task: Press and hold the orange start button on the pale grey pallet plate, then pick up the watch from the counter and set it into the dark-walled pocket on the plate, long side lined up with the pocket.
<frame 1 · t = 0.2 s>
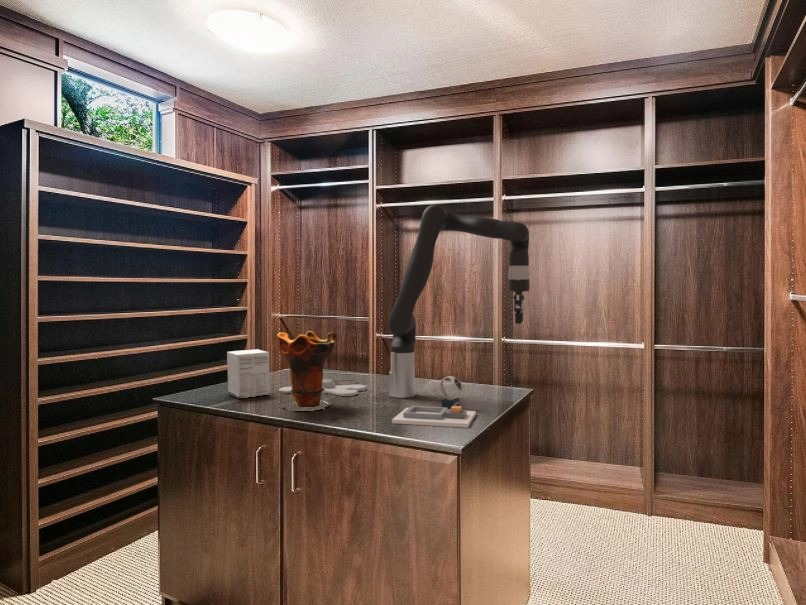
hand: (519, 322, 205), 29 cm above the countertop, tool pointing down, fingers open, 8 cm apart
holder: (323, 392, 231), on the countertop
supplement box: (248, 395, 224), on the countertop
decorative vase: (307, 407, 202), on the countertop
start button: (456, 410, 179), point 3 cm above the countertop, slide at 0.0 cm
pallet: (435, 418, 181), on the countertop
watch: (450, 408, 197), on the countertop
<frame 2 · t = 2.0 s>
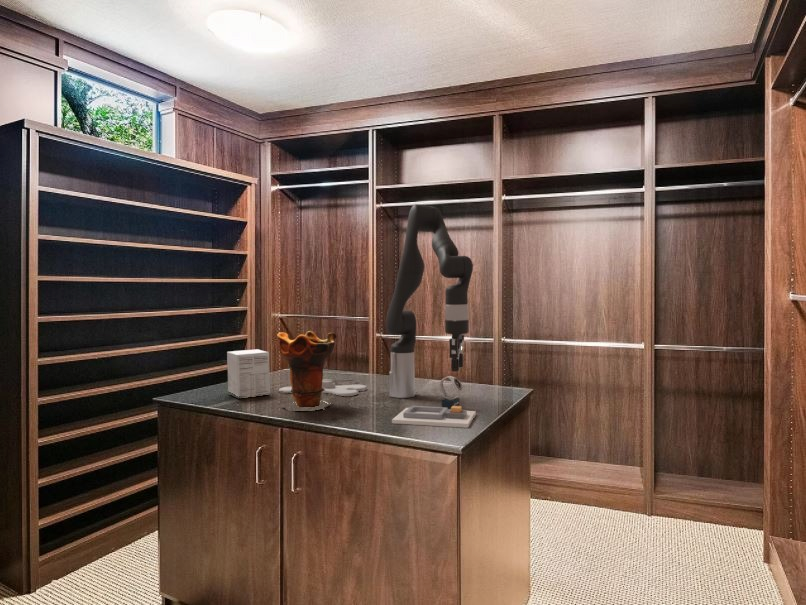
hand: (457, 369, 179), 16 cm above the countertop, tool pointing down, fingers open, 8 cm apart
nothing on the countertop moved.
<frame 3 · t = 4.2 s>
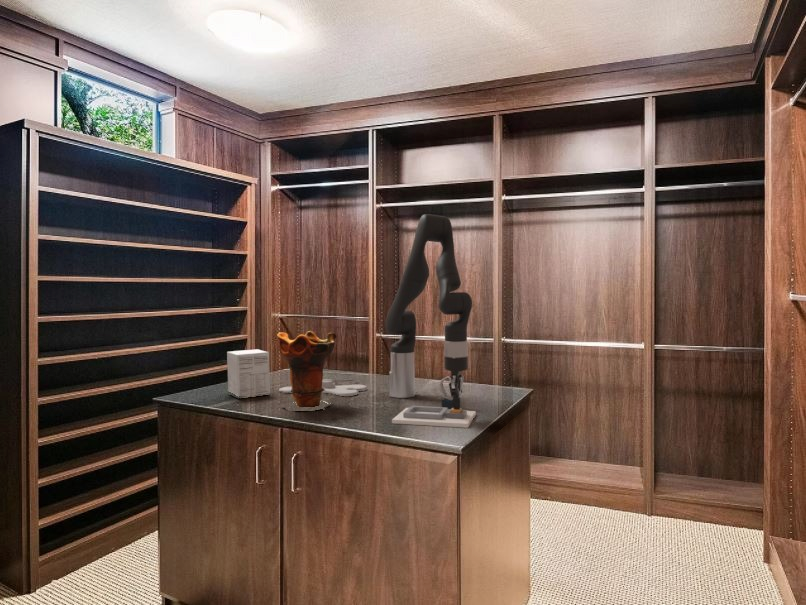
hand: (456, 408, 179), 4 cm above the countertop, tool pointing down, fingers closed
start button: (456, 411, 179), point 3 cm above the countertop, slide at 0.5 cm, touching gripper
everything else where it was.
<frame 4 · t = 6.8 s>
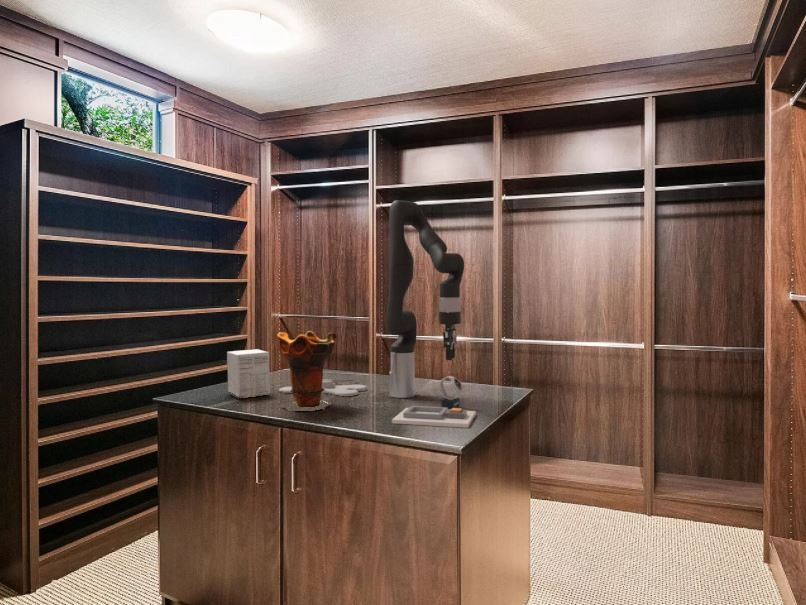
hand: (450, 358, 197), 17 cm above the countertop, tool pointing down, fingers open, 4 cm apart
start button: (456, 412, 179), point 3 cm above the countertop, slide at 0.7 cm
everything else where it was.
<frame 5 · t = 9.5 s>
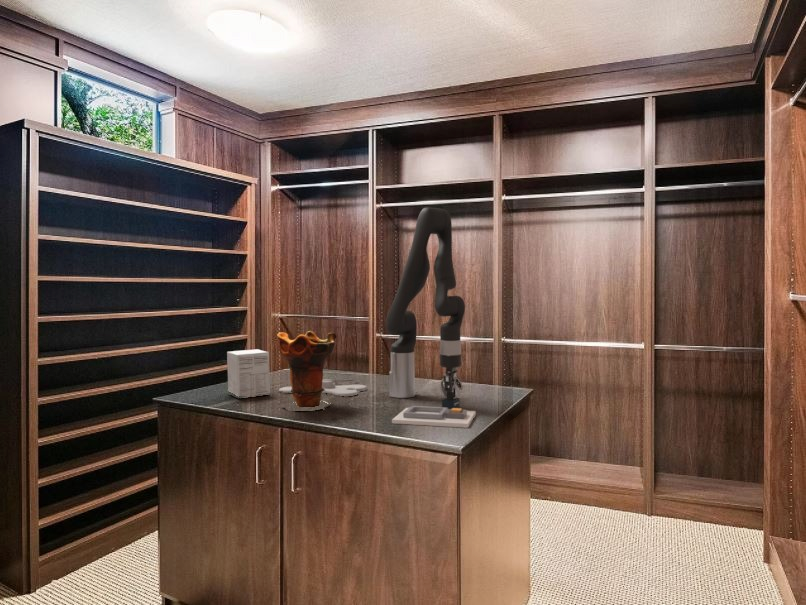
hand: (451, 401, 197), 2 cm above the countertop, tool pointing down, fingers closed on watch, 3 cm apart
watch: (451, 408, 197), on the countertop, touching gripper
everything else where it was.
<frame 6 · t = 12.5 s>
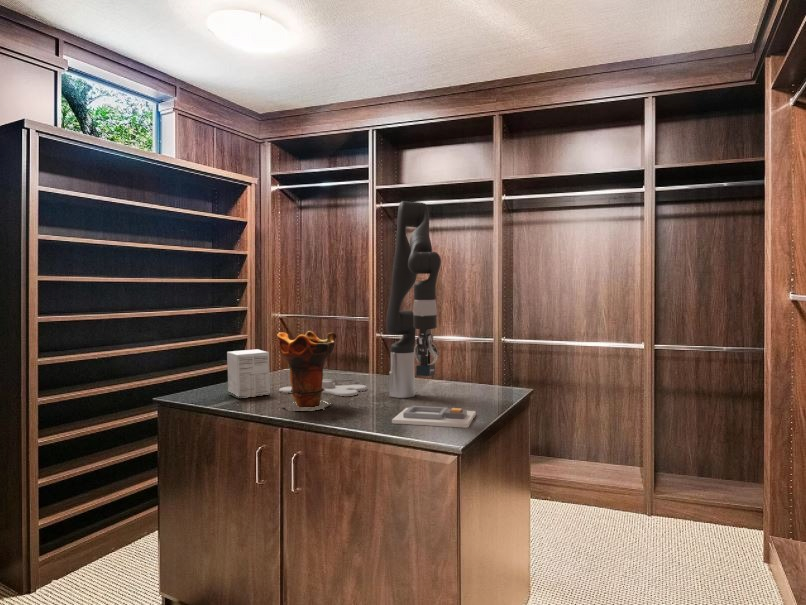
hand: (425, 366, 182), 17 cm above the countertop, tool pointing down, fingers closed on watch, 3 cm apart
watch: (425, 375, 181), point 14 cm above the countertop, touching gripper
everything else where it was.
when the fingers open (5 cm above the countertop, at t = 15.1 s): watch stays where it is, resting on pallet.
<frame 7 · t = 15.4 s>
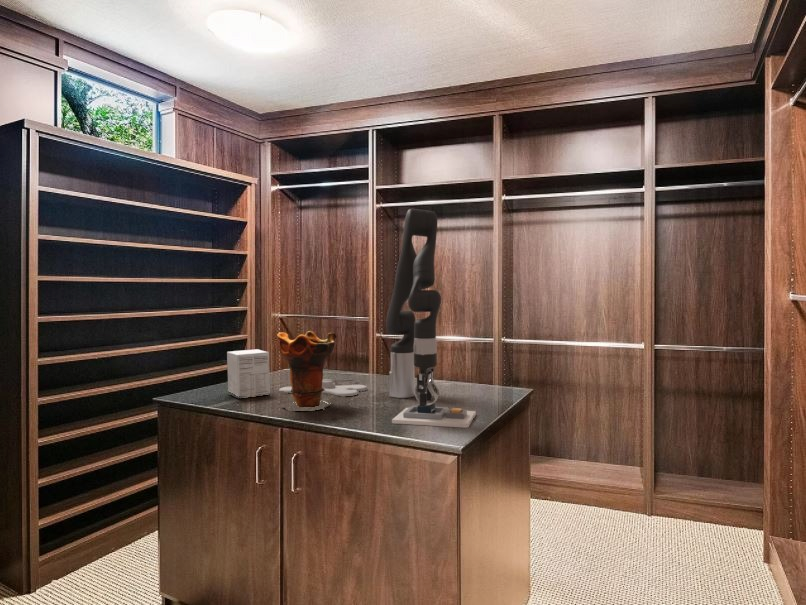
hand: (425, 402, 182), 5 cm above the countertop, tool pointing down, fingers open, 6 cm apart
watch: (426, 414, 183), point 1 cm above the countertop, touching pallet
everything else where it was.
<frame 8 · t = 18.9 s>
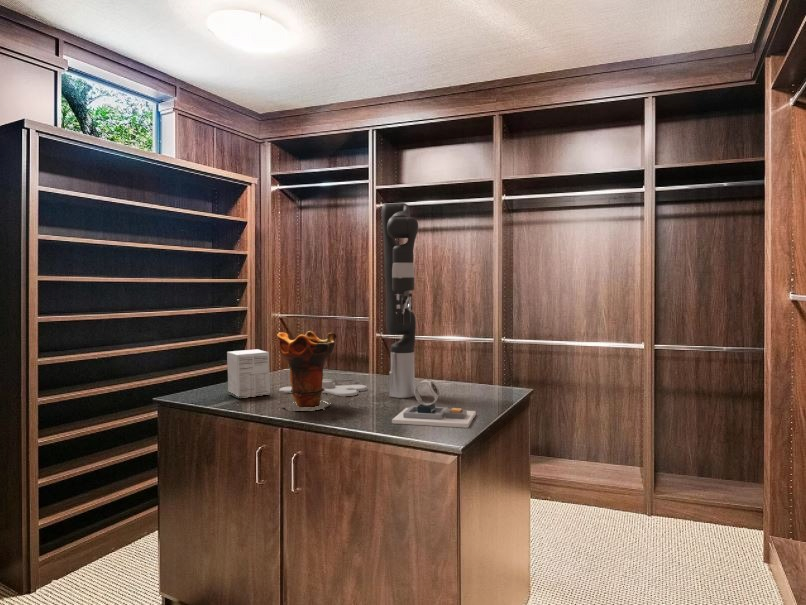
hand: (403, 324, 190), 30 cm above the countertop, tool pointing down, fingers open, 8 cm apart
nothing on the countertop moved.
at the end: start button slide at 0.7 cm; watch 0.6 cm from the target spot on the pallet, point 1.0 cm above the pallet's base; watch tilted 0° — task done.
